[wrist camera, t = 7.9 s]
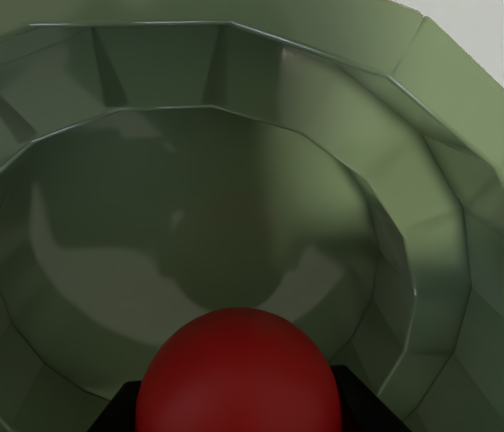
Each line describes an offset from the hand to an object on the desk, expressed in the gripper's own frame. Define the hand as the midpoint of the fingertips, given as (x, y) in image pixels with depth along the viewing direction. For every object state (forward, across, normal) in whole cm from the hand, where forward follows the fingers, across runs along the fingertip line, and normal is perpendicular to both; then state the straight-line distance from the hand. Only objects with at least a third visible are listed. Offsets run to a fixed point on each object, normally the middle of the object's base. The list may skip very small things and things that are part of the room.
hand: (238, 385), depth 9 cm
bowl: (+3, +1, -1) cm, 4 cm away
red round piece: (+2, 0, 0) cm, 2 cm away
